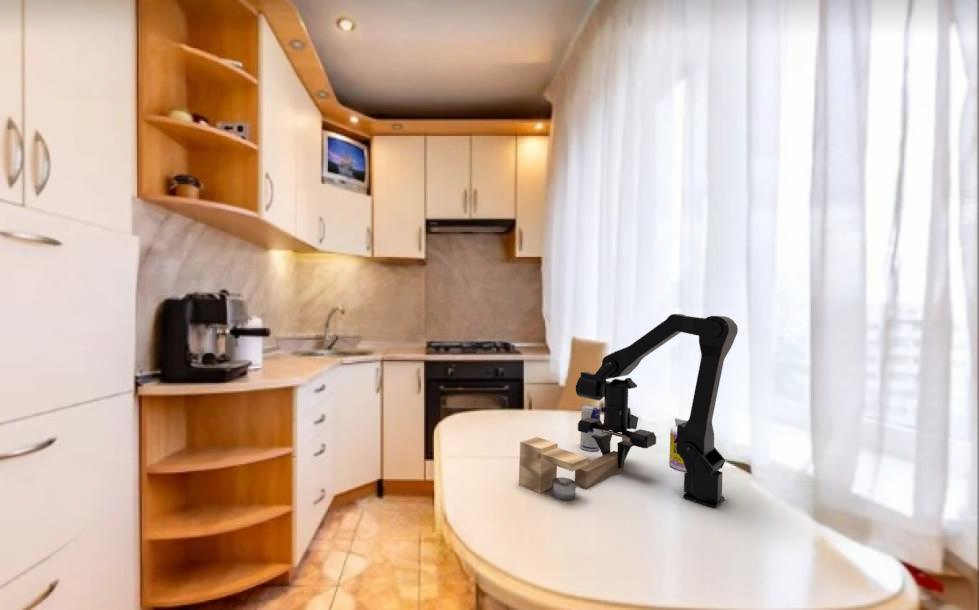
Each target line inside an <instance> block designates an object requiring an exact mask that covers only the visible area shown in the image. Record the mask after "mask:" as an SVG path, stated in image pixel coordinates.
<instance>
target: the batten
mask: <svg viewBox="0 0 979 610" xmlns="http://www.w3.org/2000/svg"><path fill="white" fill-rule="evenodd" d="M624 470H625V463H624V464H623V467H622V468H619V467H618V450H617V451H616V450H612V451H610V453H607V454H605V455H601V456H598V457H596V458H595V459H591V460H590V461H589V463H588V465H586V466H584V467H582V468H580V469H577V470H575V471H574V481H575V482H576V487H578V488H582V489H583V490H588V489H591V488H592V487H594V486H596V485H598V484H601V482H604V481H605V480H607V479H610V478H611V477H613V476H614V475H617V474H618V473H619V474H620V473H621V472H622V471H623V472H624Z"/></svg>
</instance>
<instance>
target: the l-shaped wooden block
mask: <svg viewBox="0 0 979 610" xmlns="http://www.w3.org/2000/svg"><path fill="white" fill-rule="evenodd" d="M558 446H559V445H558V442H554V441H551V440H548V439H545V438H541V437H537V436H536V437H532V438H529V439H526V440H522V441H520V442H519V467H518V468H519V469H518V471H519V472H518V485H519V486H521V487H524V488H527V489H529V490H532V491H534V492H536V493H539V494H541V493H544V492H545V491H548V490H550V489H552V480H553V479H554V478H558V476H557V473H558V472H557V471H558V467H559V468H561V469H564V470H567V471H570V472H575V470H577V469H580V468H582V467H584V466H586V465H588V463H589V457H588V456H586V455H582V454H578V453H575V452H572V451H569V450H566V449H562V448H559V447H558Z"/></svg>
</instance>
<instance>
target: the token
mask: <svg viewBox="0 0 979 610" xmlns="http://www.w3.org/2000/svg"><path fill="white" fill-rule="evenodd" d="M576 490H577V486H576V482H575V479H574V480H573V479H572V478H568V477H560V476H559V477H557V478H554V479H553V480H552V488H551V497H552V498H553V499H556V500H558V501H563V502H572V501H574V500H575V499H576V492H577V491H576Z"/></svg>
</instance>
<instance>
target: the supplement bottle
mask: <svg viewBox="0 0 979 610" xmlns="http://www.w3.org/2000/svg"><path fill="white" fill-rule="evenodd" d="M689 418H690V416H686V415H675V416H674V423H675V424H674V425H672V426H671V428H670V434H669V458H668V459H669V460H668V462H669V466H670V467H671V468H673V469H675V470H678V471H682V472H687V471H686V468H685V465H684V462H683V459H682V458H681V457H680V455H679V454H678V453H677V450H676V445H677V443H674V441H675V439H676V437H677V426H678V425H679V424H682V423H684V422H686V421H688V420H689Z"/></svg>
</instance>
